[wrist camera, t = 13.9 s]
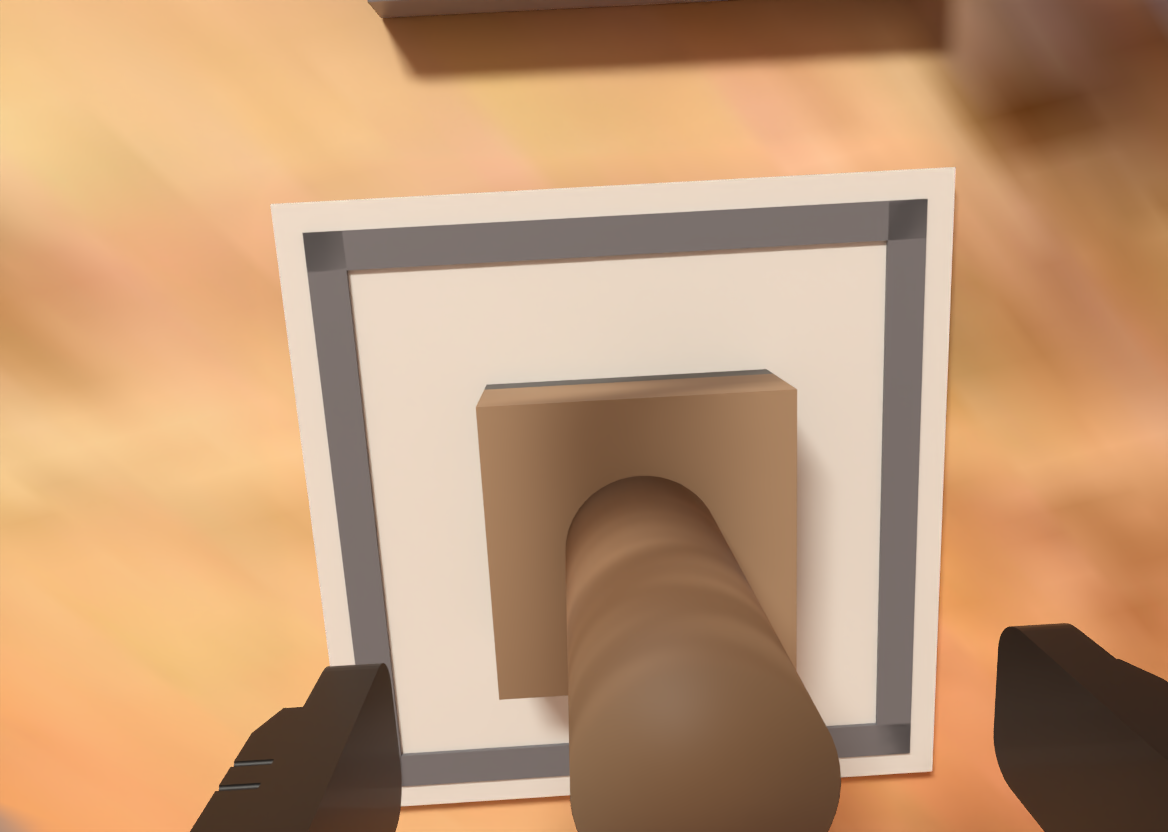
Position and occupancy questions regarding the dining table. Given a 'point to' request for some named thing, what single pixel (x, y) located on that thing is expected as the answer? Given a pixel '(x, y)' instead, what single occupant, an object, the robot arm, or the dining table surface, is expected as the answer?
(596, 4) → the ink pad
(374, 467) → the marked card
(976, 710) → the dining table surface
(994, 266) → the dining table surface
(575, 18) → the dining table surface
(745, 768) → the stamp
